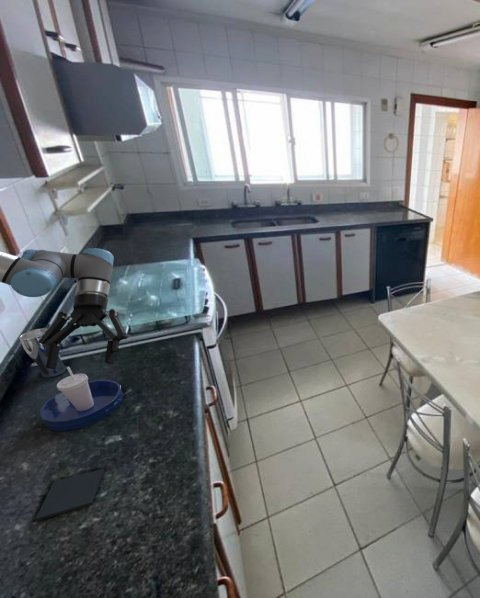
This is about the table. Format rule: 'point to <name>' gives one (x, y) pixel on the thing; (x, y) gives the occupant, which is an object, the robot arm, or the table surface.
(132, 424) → the table surface
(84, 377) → the smoothie
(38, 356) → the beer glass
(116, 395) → the bowl
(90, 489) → the mat
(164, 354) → the table surface
